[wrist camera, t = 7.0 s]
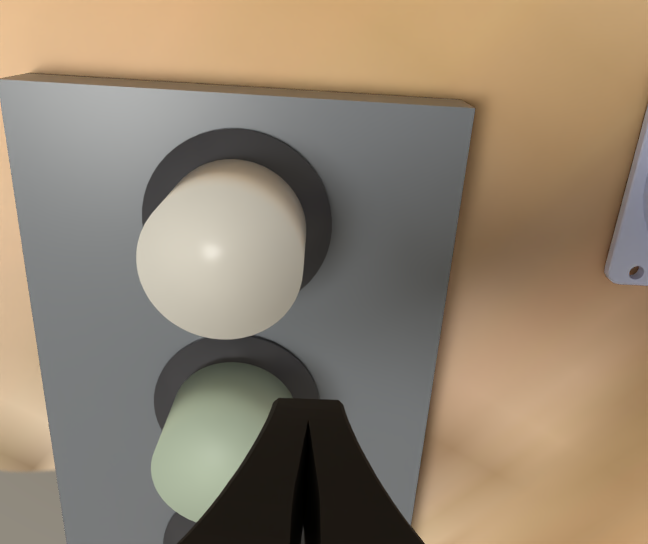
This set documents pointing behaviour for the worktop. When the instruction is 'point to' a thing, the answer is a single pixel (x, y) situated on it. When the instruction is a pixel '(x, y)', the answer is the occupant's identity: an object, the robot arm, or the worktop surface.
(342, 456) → the robot arm
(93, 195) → the panel
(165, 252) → the button cream
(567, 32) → the worktop surface
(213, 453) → the button sage
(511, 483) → the worktop surface
